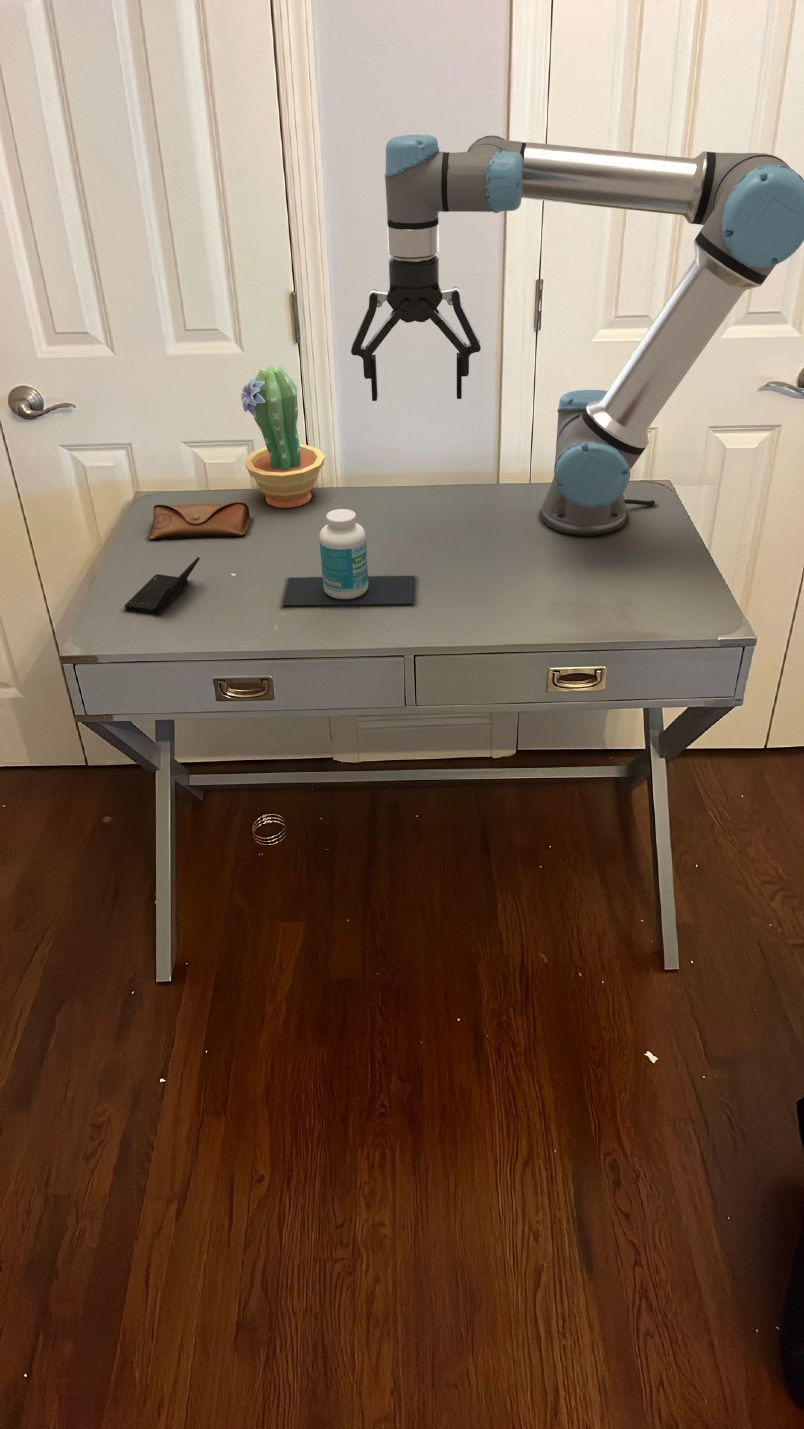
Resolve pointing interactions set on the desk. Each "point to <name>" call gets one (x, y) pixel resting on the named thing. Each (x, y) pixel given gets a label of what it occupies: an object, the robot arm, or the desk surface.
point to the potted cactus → (280, 441)
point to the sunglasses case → (200, 520)
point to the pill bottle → (343, 555)
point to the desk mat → (377, 594)
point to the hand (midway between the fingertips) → (416, 397)
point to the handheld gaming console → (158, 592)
